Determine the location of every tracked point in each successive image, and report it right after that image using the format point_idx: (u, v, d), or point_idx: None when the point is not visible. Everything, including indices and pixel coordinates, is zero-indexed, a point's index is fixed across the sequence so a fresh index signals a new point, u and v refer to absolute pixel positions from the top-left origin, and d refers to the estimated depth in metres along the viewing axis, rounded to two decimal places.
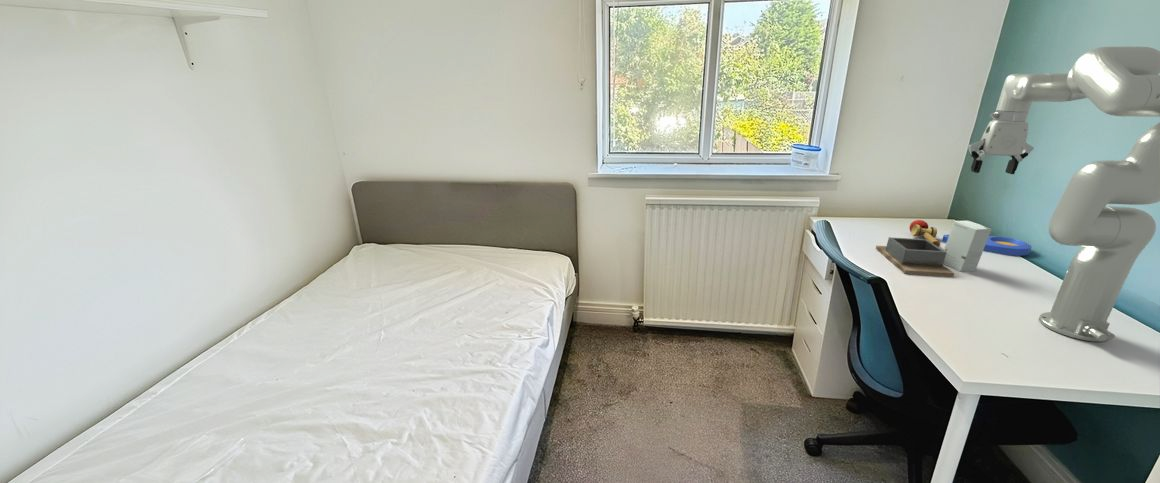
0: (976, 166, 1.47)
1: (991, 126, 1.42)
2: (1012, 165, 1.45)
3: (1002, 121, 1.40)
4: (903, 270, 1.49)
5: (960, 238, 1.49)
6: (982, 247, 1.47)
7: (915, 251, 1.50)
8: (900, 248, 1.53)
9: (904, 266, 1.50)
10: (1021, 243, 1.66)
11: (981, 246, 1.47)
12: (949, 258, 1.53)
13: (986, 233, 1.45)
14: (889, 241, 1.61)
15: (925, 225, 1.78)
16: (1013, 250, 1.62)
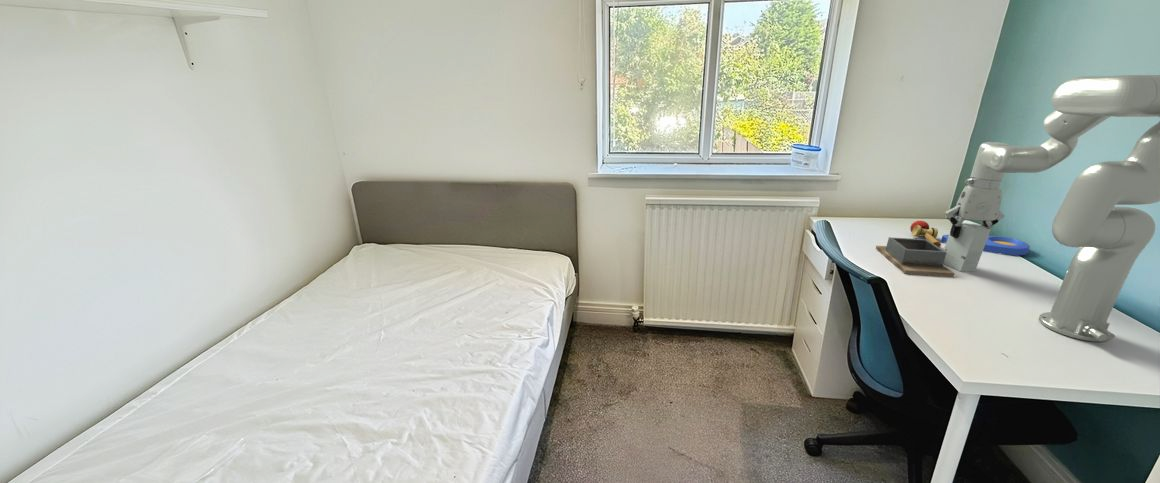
0: (955, 231, 1.49)
1: (966, 192, 1.44)
2: None
3: (976, 188, 1.42)
4: (903, 270, 1.49)
5: (959, 238, 1.49)
6: (982, 247, 1.47)
7: (915, 251, 1.50)
8: (900, 248, 1.53)
9: (904, 266, 1.50)
10: (1019, 243, 1.66)
11: (980, 246, 1.47)
12: (949, 258, 1.53)
13: (986, 233, 1.45)
14: (889, 241, 1.61)
15: (926, 226, 1.78)
16: (1012, 250, 1.62)
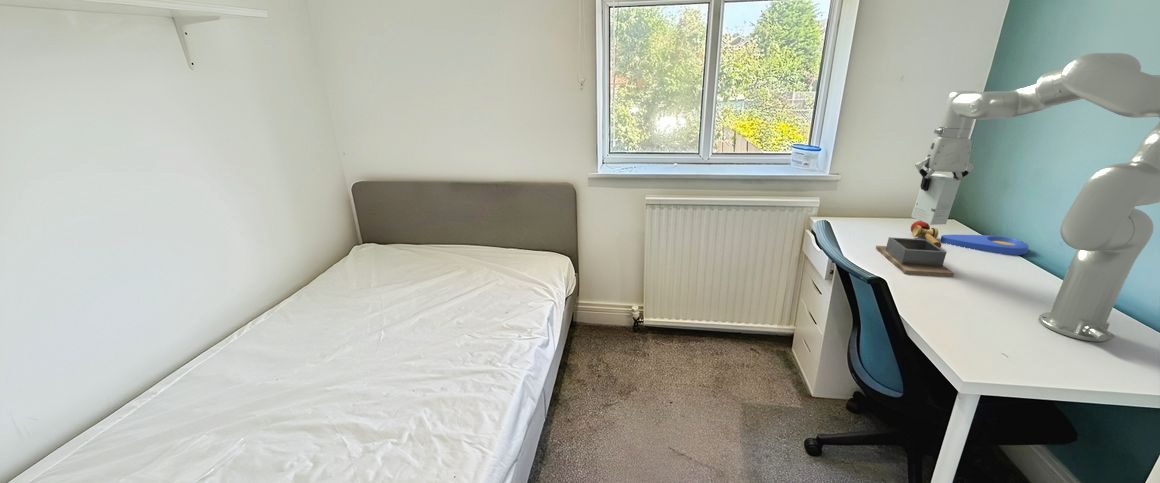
0: (925, 184, 1.47)
1: (935, 142, 1.42)
2: None
3: (945, 138, 1.40)
4: (903, 270, 1.49)
5: (930, 190, 1.47)
6: (952, 199, 1.45)
7: (915, 251, 1.50)
8: (900, 248, 1.53)
9: (904, 266, 1.50)
10: (1018, 242, 1.67)
11: (950, 198, 1.45)
12: (919, 212, 1.51)
13: (955, 184, 1.43)
14: (889, 241, 1.61)
15: (926, 226, 1.78)
16: (1011, 250, 1.62)
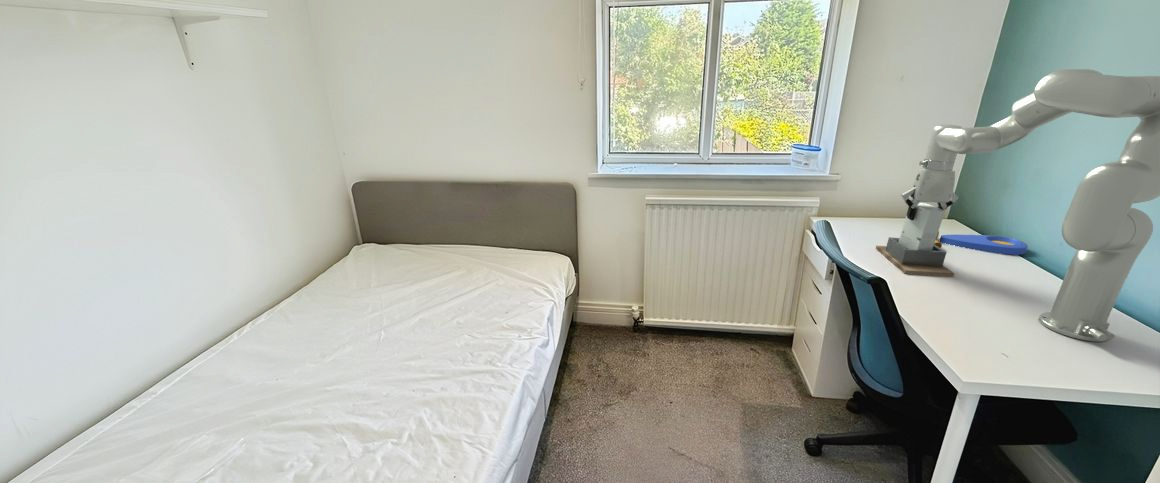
0: (911, 213, 1.51)
1: (920, 174, 1.46)
2: None
3: (930, 170, 1.44)
4: (903, 270, 1.49)
5: (915, 220, 1.51)
6: (937, 228, 1.49)
7: (915, 251, 1.50)
8: (900, 248, 1.53)
9: (904, 266, 1.50)
10: (1017, 242, 1.67)
11: (935, 227, 1.49)
12: (906, 240, 1.55)
13: (940, 214, 1.47)
14: (889, 241, 1.61)
15: None
16: (1011, 249, 1.62)
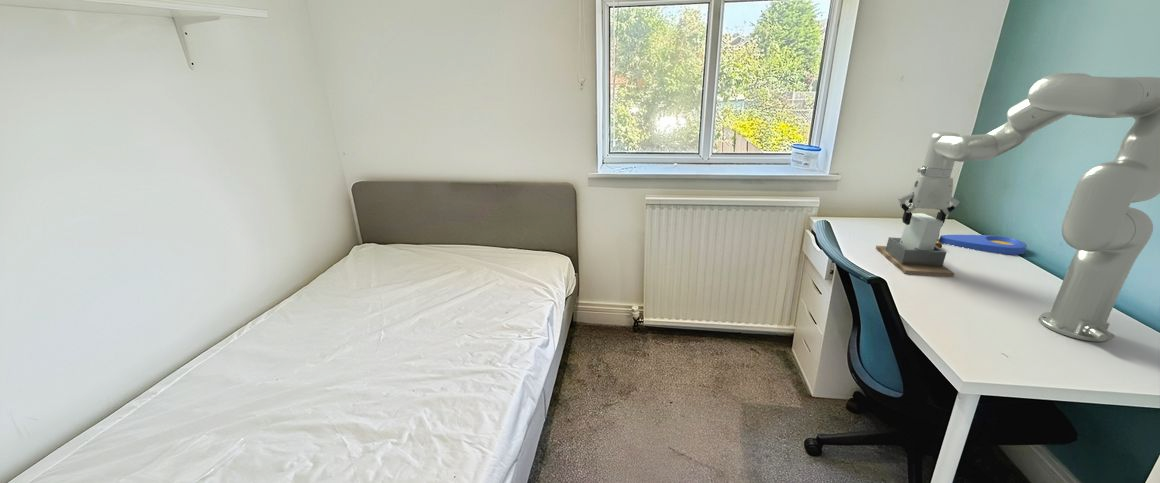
0: (906, 218, 1.52)
1: (919, 181, 1.47)
2: (940, 218, 1.50)
3: (928, 177, 1.45)
4: (903, 270, 1.49)
5: (913, 230, 1.52)
6: (934, 239, 1.50)
7: (915, 251, 1.50)
8: (900, 248, 1.53)
9: (904, 266, 1.50)
10: (1016, 242, 1.67)
11: (933, 238, 1.50)
12: None
13: (938, 225, 1.48)
14: (889, 241, 1.61)
15: None
16: (1010, 249, 1.62)
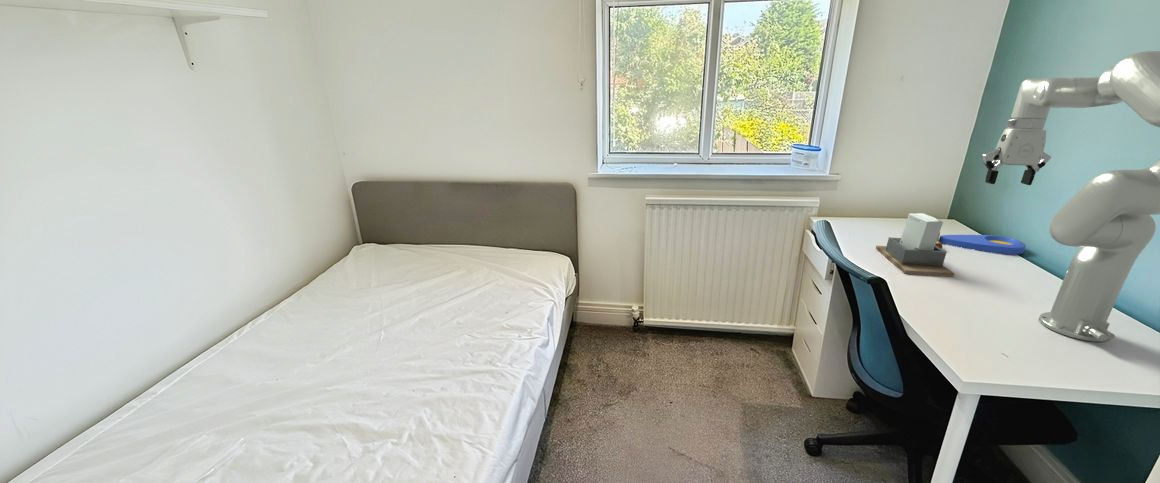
0: (991, 177, 1.37)
1: (1007, 134, 1.33)
2: (1029, 175, 1.36)
3: (1019, 129, 1.31)
4: (903, 270, 1.49)
5: (913, 230, 1.52)
6: (934, 239, 1.50)
7: (915, 251, 1.50)
8: (900, 248, 1.53)
9: (904, 266, 1.50)
10: (1014, 241, 1.67)
11: (933, 238, 1.50)
12: None
13: (938, 225, 1.48)
14: (889, 241, 1.61)
15: None
16: (1010, 249, 1.62)
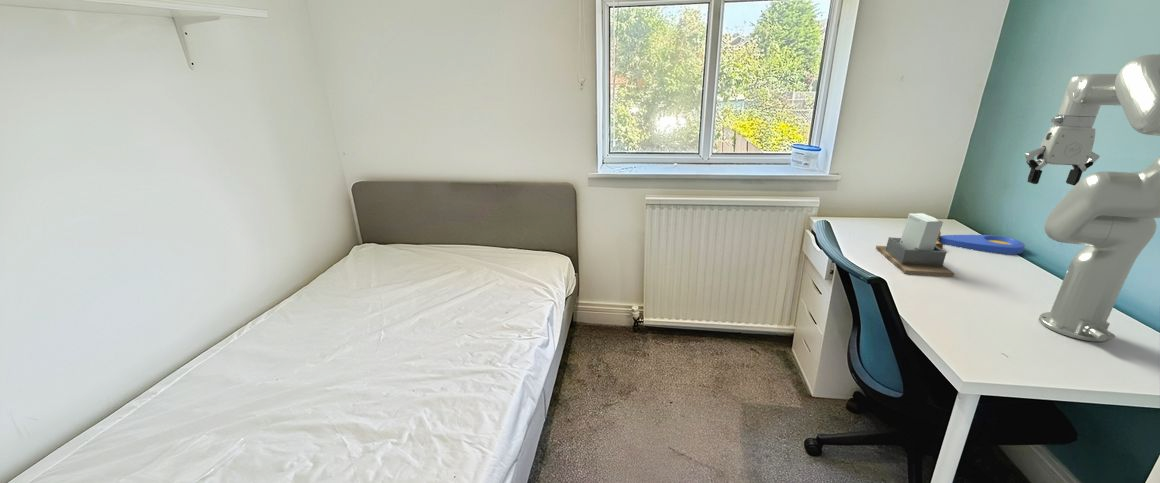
0: (1034, 176, 1.33)
1: (1053, 132, 1.28)
2: (1075, 175, 1.31)
3: (1066, 127, 1.26)
4: (903, 270, 1.49)
5: (913, 230, 1.52)
6: (934, 239, 1.50)
7: (915, 251, 1.50)
8: (900, 248, 1.53)
9: (904, 266, 1.50)
10: (1013, 241, 1.68)
11: (933, 238, 1.50)
12: None
13: (938, 225, 1.48)
14: (889, 241, 1.61)
15: None
16: (1010, 249, 1.62)
